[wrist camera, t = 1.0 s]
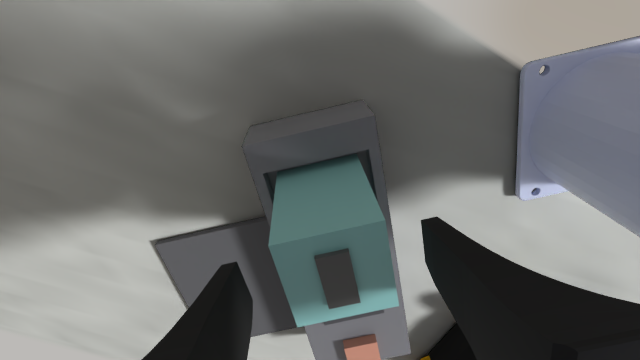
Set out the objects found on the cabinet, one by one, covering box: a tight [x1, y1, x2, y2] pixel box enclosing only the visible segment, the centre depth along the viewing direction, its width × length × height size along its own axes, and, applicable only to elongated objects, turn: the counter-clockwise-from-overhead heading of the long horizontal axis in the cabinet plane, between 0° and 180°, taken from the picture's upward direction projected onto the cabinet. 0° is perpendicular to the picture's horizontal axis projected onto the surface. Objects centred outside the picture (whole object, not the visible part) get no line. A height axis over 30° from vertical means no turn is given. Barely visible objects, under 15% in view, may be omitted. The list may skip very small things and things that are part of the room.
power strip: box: [242, 100, 411, 360], centre depth 20 cm, size 16×6×4 cm, turn 13°
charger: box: [268, 154, 399, 327], centre depth 15 cm, size 4×4×6 cm
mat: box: [155, 217, 297, 337], centre depth 22 cm, size 7×9×1 cm
